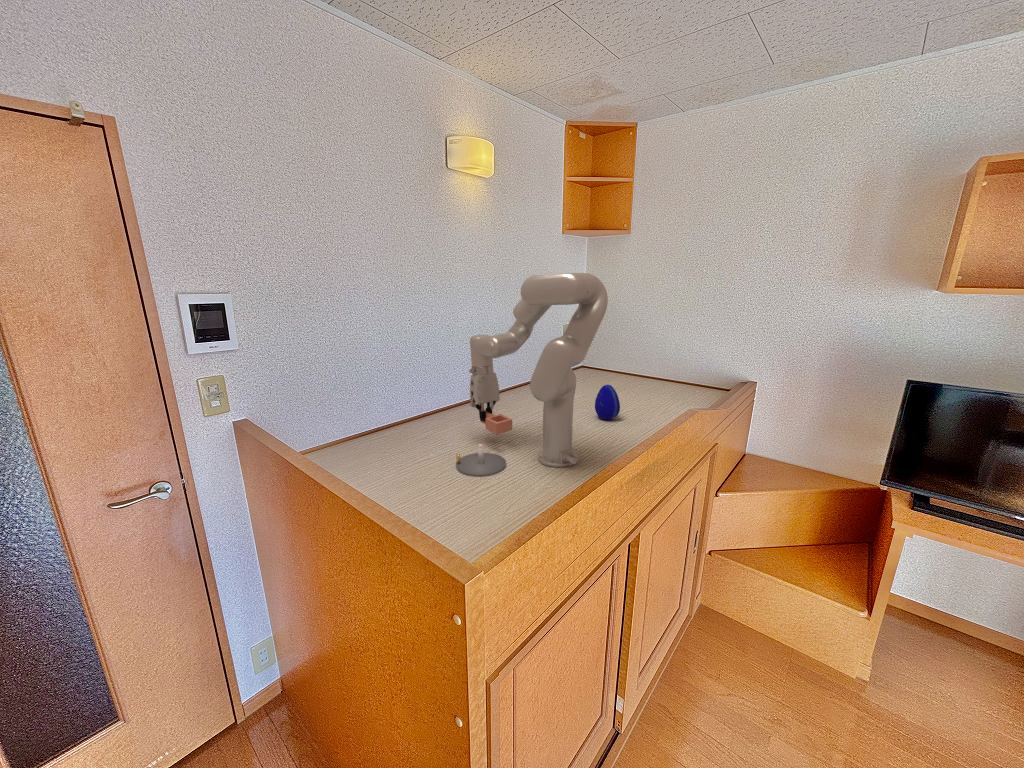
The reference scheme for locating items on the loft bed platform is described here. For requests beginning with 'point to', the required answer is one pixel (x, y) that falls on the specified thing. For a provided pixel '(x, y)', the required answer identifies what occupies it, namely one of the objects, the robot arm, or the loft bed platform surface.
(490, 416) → the orange square loop
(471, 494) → the loft bed platform surface
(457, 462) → the dowel pin
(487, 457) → the post base
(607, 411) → the ornament
